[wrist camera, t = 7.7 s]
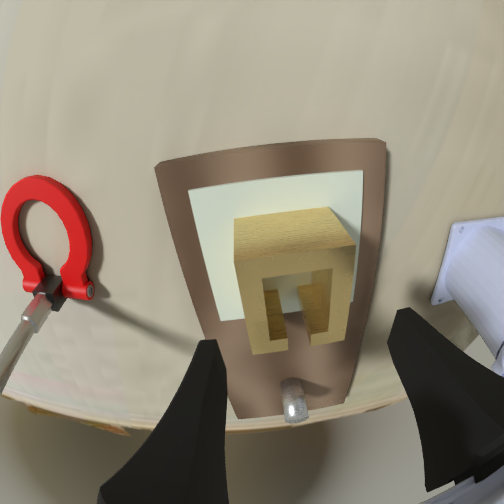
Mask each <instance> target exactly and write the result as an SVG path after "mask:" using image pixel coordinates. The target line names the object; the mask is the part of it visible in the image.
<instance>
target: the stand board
mask: <svg viewBox="0 0 504 504" xmlns="http://www.w3.org/2000/svg"><path fill="white" fill-rule="evenodd" d="M154 169H155V173H156V177H157V181H158V185H159V189H160V193H161V197H162V201H163V205H164V209H165V213H166V216H167V220H168V224H169V227H170V231H171V234H172V238H173V241H174V245H175V248H176V251H177V255H178V258H179V261H180V265H181V268H182V271H183V274H184V277H185V281H186V284H187V287H188V290H189V293H190V296H191V299H192V302H193V305H194V308H195V311H196V314H197V317H198V319H199V322H200V325H201V328H202V331H203V333H204V336H205V339H206V340H210V339H217V342H218V345H219V348H220V351H221V354H222V357H223V360H224V363H225V366H226V369H227V389H228V397H229V400H230V402H231V405H232V407H233V409H234V411H235V414H236V416H237V418H238V419H246V418H257V417H267V416H275V415H282V414H284V409H283V402H282V395H281V388H280V383H281V382H282V381H283V380H285V379H287V378H292V377H296V378H300V379H301V380H302V385H303V390H304V395H305V400H306V405H307V410H313V409H319V408H324V407H329V406H333V405H338V404H342V403H344V401H345V398H346V395H347V392H348V388H349V385H350V382H351V379H352V375H353V372H354V368H355V364H356V361H357V357H358V353H359V349H360V345H361V341H362V337H363V333H364V329H365V324H366V320H367V315H368V310H369V305H370V300H371V295H372V289H373V284H374V278H375V272H376V265H377V259H378V251H379V244H380V235H381V226H382V216H383V205H384V191H385V172H386V142H384V141H381V140H379V139H376V138H363V139H330V140H312V141H299V142H287V143H276V144H267V145H258V146H250V147H243V148H235V149H228V150H222V151H216V152H209V153H204V154H198V155H192V156H187V157H182V158H177V159H172V160H167V161H163V162H160V163H159V164H158V165H156V166H155V167H154ZM353 170H362V171H363V195H362V216H361V231H360V243H359V254H358V264H357V273H356V282H355V289H354V297H353V302H350V307H349V314H348V321H347V327H346V333H345V339H344V340H342V341H337V342H332V343H327V344H322V345H316V346H311V347H310V343H309V339H308V335H307V331H306V328H305V324H304V320H303V316H302V313H301V311H296V312H289V313H283V317H284V322H285V327H286V333H287V338H288V350H286V351H279V352H272V353H264V354H256V355H252V350H251V345H250V341H249V336H248V331H247V326H246V321H245V318H244V319H236V320H227V321H221V320H220V317H219V313H218V310H217V306H216V302H215V299H214V295H213V291H212V288H211V284H210V280H209V276H208V272H207V269H206V265H205V261H204V257H203V253H202V249H201V245H200V241H199V236H198V232H197V228H196V224H195V220H194V215H193V211H192V206H191V202H190V198H189V193H188V190H191V189H197V188H203V187H209V186H215V185H222V184H228V183H235V182H243V181H250V180H258V179H266V178H274V177H283V176H292V175H302V174H313V173H325V172H338V171H353Z"/></svg>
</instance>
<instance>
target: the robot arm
mask: <svg viewBox="0 0 504 504" xmlns="http://www.w3.org/2000/svg"><path fill="white" fill-rule="evenodd" d="M451 300H455V301H456V303H457V304H458V305H459V307H460V308H461V309H462V311H463V312H464V313H465V315H466V316H467V317H468V319H469V320H470V322H471V323H472V324H473V326H474V327H475V329H476V330H477V331H478V333H479V334H480V336H481V337H482V339H483V340H484V342H485V343H486V345H487V346H488V348H489V349H490V351H491V353H492V354H493V356H494V357H495V359H496V361H495V363H494V364H493V365H492V367H491V369H492V370H493V371H491V370H489V369H488V368H486V367H484V366H483V365H481V364H480V363H478V362H477V361H475V360H474V359H472V358H471V357H469V356H468V355H467V354H465V353H464V352H463V351H462V350H460V349H459V348H458V347H456V346H455V345H454V344H453V343H451V342H450V341H449V340H448V339H446V338H445V337H444V336H443V335H442V334H441V333H439V332H438V331H437V330H436V329H435V328H434V327H432V326H431V325H430V324H429V323H428V322H427V321H425V320H424V319H423V318H422V317H421V316H420V315H418V314H417V313H416V312H415V311H414V310H412V309H411V308H410V307H408V308H404V309H400V310H397V313H396V316H395V319H394V323H393V326H392V329H391V332H390V335H389V338H388V341H387V344H388V347H389V351H390V354H391V357H392V360H393V363H394V366H395V368H396V370H397V372H398V375H399V377H400V379H401V382H402V384H403V386H404V388H405V391H406V393H407V395H408V398H409V400H410V402H411V405H412V408H413V411H414V414H415V418H416V421H417V426H418V429H419V434H420V439H421V445H422V451H423V458H424V471H425V487H426V491H427V492H430V491H432V490H434V489H436V488H439V487H441V486H443V485H446V484H448V483H450V482H451V481H453V480H454V482H455V486H453V487H451V488H449V489H448V490H446V491H444V492H442V493H440V494H438V495H436V496H434V497H432V498H430V499H428V500H426V501H424V502H421V503H419V504H504V216H503V217H495V218H487V219H480V220H472V221H464V222H456V223H454V224H453V225H452V226H451V229H450V234H449V238H448V242H447V247H446V251H445V254H444V258H443V262H442V265H441V269H440V272H439V276H438V279H437V282H436V285H435V289H434V292H433V295H432V298H431V301H430V302H431V304H432V305H438V304H441V303H444V302H448V301H451ZM227 395H228V389H227V369H226V366H225V363H224V360H223V357H222V354H221V351H220V348H219V345H218V342H217V339H210V340H200V341H199V343H198V345H197V348H196V351H195V353H194V356H193V358H192V361H191V363H190V365H189V367H188V370H187V372H186V374H185V376H184V378H183V380H182V382H181V384H180V386H179V388H178V390H177V392H176V394H175V396H174V398H173V400H172V401H171V403H170V405H169V407H168V408H167V410H166V412H165V413H164V415H163V417H162V418H161V420H160V421H159V423H158V424H157V426H156V427H155V429H154V430H153V431H152V433H151V434H150V436H149V437H148V438H147V439H146V441H145V442H144V443H143V445H142V446H141V447H140V448H139V449H138V451H137V452H136V453H135V454H134V455H133V456H132V457H131V458H130V459H129V461H127V463H126V464H125V465H124V466H123V467H122V468H121V469H120V470H119V471H118V472H117V473H115V474H114V475H113V476H112V477H111V478H110V479H109V480H108V481H106V482H105V483H104V484H103V485H102V486H101V487H100V489H99V493H98V498H97V504H229V500H228V491H227V480H226V468H225V451H224V446H225V425H226V410H227Z"/></svg>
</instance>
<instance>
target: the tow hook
mask: <svg viewBox="0 0 504 504" xmlns="http://www.w3.org/2000/svg"><path fill="white" fill-rule="evenodd" d="M27 200H38V201H42V202H44V203H45V204H47V205H49V206H50V207H51V208H52V209H53V210H54V211H55V212H56V213H57V214H58V216H59V217H60V219H61V220H62V221H63V224H64V226H65V228H66V230H67V233H68V238H69V243H70V252H69V257H68V260H67V262H66V263H65V264H64V265H63V266H62V267H61V269H60V274H61V277H58V276H49V275H47V276H45V275H44V272H43V268H42V265H41V264H40V263H39V262H38V261H36V260H35V259H34V258H33V257H32V256H31V255H30V254H29V252H28V251H27V250H26V248H25V247H24V244H23V242H22V240H21V238H20V234H19V230H18V216H19V212H20V209H21V207H22V205H23V204H24V203H25V202H26V201H27ZM1 226H2V234H3V237H4V240H5V244H6V247H7V249H8V251H9V253H10V255H11V257H12V258H13V260H14V261H15V263H16V264H17V265H18V267H19V268H20V269H21V270H22V273H23V276H24V279H23V288H24V290H25V291H26V292H31V293H33V295H34V299H33V300H32V301H31V303H30V304H29V305H28V307H27V308H26V309H25V311H24V312H23V314H22V316H21V322H20V324H19V325H18V327H17V328H16V330H15V331H14V333H13V335H12V336H11V338H10V339H9V341H8V342H7V344H6V346H5V347H4V349H3V351H2V352H1V354H0V395H1V394H2V391H3V389H4V387H5V385H6V383H7V381H8V379H9V377H10V375H11V373H12V371H13V369H14V367H15V365H16V364H17V362H18V360H19V358H20V356H21V354H22V353H23V351H24V349H25V347H26V346H27V344H28V342H29V341H30V339H31V337H32V336H33V334H34V333H38V332H39V330H40V328H41V327H42V325H43V324H44V322H45V320H46V319H47V317H48V315H49V314H50V313H51V311H57V312H58V311H59V310H60V309H61V307H62V305H63V304H64V302H65V301H66V299H67V298H74V299H82V300H92V298H93V295H94V285H93V283H92V282H91V281H88V279H87V276H86V272H85V271H86V269H87V268H88V266H89V262H90V259H91V255H92V237H91V233H90V228H89V223H88V221H87V219H86V216H85V214H84V212H83V209H82V207H81V206H80V205H79V203H78V202H77V200H76V199H75V197H74V196H73V194H72V193H71V192H70V191H69V190H68V189H66V188H65V187H64V186H63V185H62V184H61V183H59V182H58V181H56V180H54V179H52V178H50V177H47V176H41V175H34V176H29V177H25V178H23V179H21V180H20V181H18V182H17V183H16V184H14V185H13V186H12V187H11V188H10V190H9V191H8V193H7V194H6V196H5V199H4V202H3V205H2V211H1Z"/></svg>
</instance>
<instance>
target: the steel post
mask: <svg viewBox="0 0 504 504" xmlns="http://www.w3.org/2000/svg"><path fill="white" fill-rule="evenodd" d="M280 388H281V395H282V402H283V409H284V416H285V422H287V423H299V422H303V421H305V420H307V419H308V418H309V415H308V410H307V405H306V400H305V395H304V390H303V385H302V380H301V379H300V378H296V377H292V378H287V379H285V380H283V381H282V382H281V383H280Z"/></svg>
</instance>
